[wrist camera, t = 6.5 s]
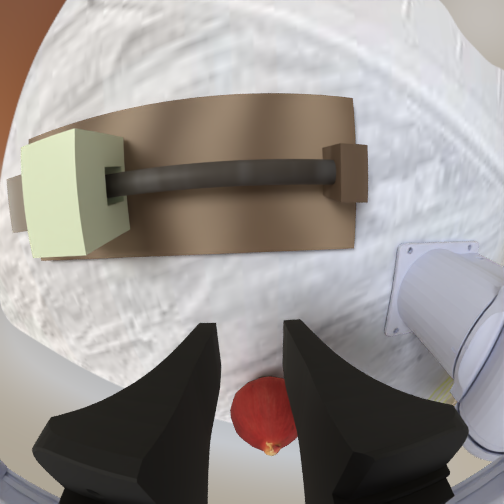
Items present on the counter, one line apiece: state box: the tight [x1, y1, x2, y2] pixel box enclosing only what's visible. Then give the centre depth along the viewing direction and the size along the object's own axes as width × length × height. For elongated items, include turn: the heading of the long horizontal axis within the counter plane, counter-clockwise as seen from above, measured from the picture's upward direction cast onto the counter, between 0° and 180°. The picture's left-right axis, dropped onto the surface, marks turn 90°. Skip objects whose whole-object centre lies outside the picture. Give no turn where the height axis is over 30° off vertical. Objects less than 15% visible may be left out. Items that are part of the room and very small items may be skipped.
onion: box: [230, 376, 298, 456], centre depth 18 cm, size 6×6×8 cm
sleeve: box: [21, 128, 130, 258], centre depth 13 cm, size 4×6×6 cm, turn 2°
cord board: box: [7, 93, 368, 261], centre depth 15 cm, size 24×10×5 cm, turn 92°
